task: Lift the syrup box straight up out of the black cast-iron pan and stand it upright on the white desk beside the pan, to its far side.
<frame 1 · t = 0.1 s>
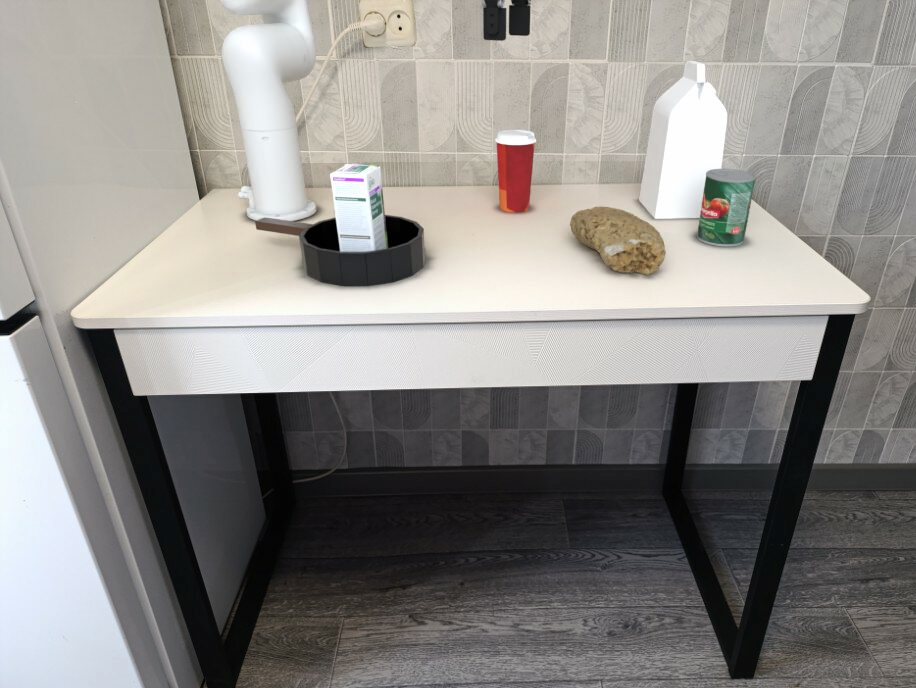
hand: (507, 37, 100), 31 cm above the table, tool pointing down, fingers open, 9 cm apart
milk: (675, 209, 134), on the table
sponge: (613, 256, 112), on the table
canned tomato: (719, 240, 119), on the table
pan: (365, 263, 108), on the table
paper cup: (514, 209, 134), on the table
syrup box: (365, 263, 108), resting on pan
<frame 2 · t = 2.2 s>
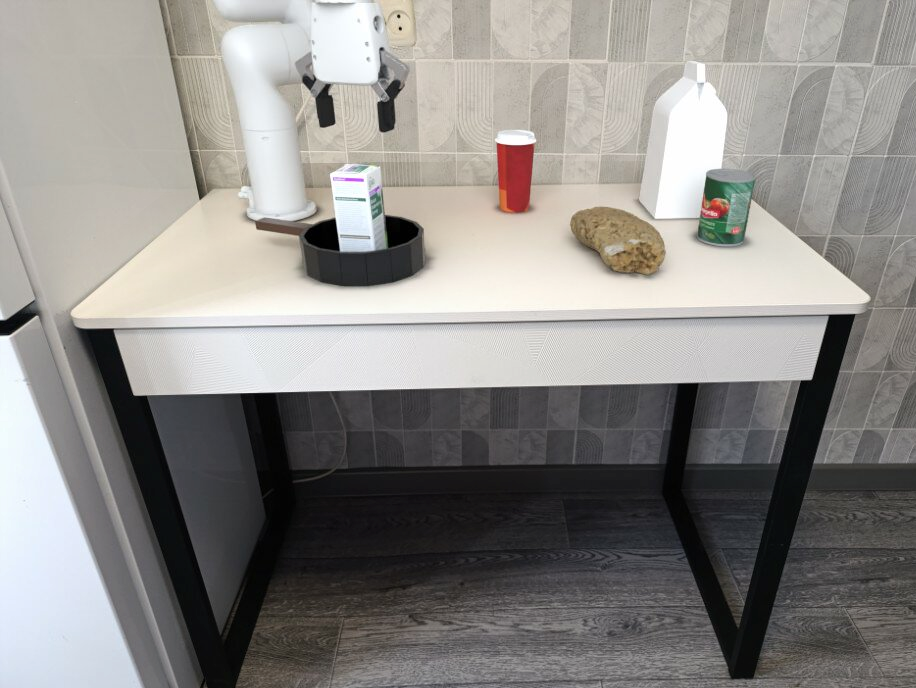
hand: (357, 128, 98), 20 cm above the table, tool pointing down, fingers open, 9 cm apart
nothing on the table moved.
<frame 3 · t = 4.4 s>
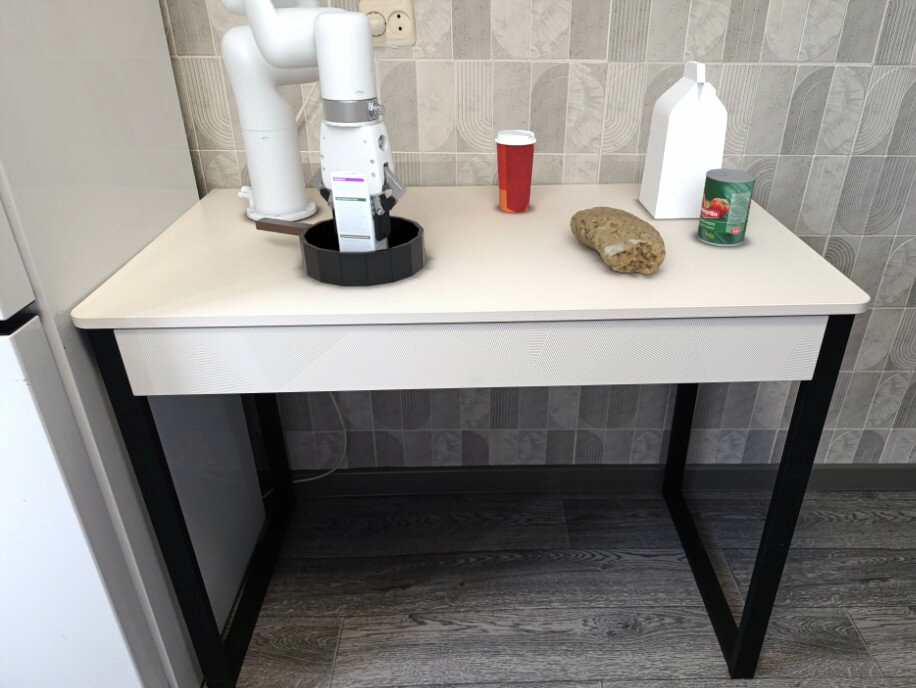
hand: (362, 234, 106), 5 cm above the table, tool pointing down, fingers closed on syrup box, 6 cm apart
syrup box: (365, 263, 108), resting on pan, touching gripper
everything else where it was.
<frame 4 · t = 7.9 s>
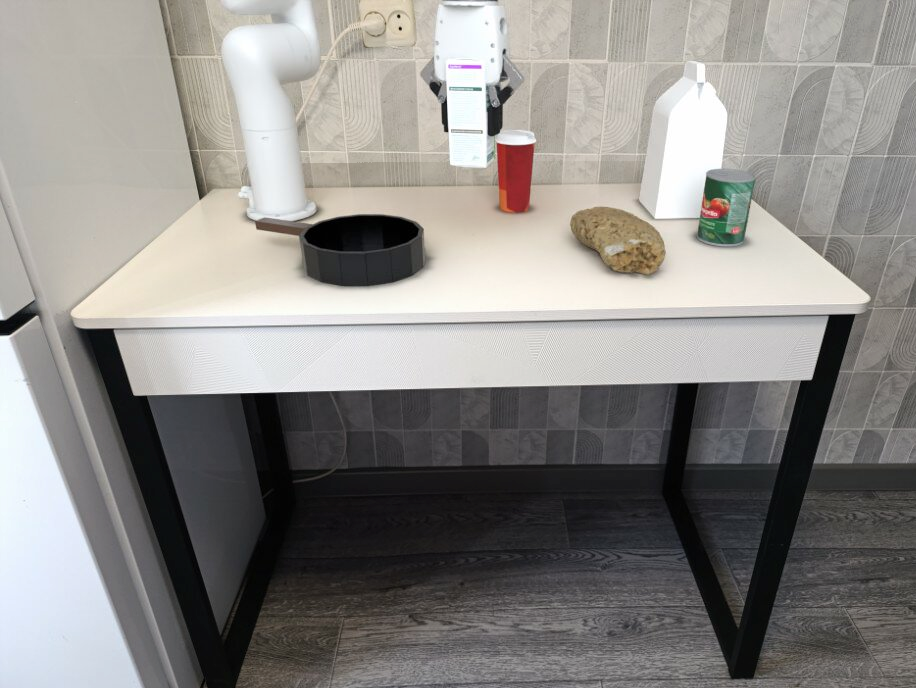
hand: (472, 131, 101), 19 cm above the table, tool pointing down, fingers closed on syrup box, 6 cm apart
syrup box: (472, 164, 104), point 14 cm above the table, touching gripper
everything else where it was.
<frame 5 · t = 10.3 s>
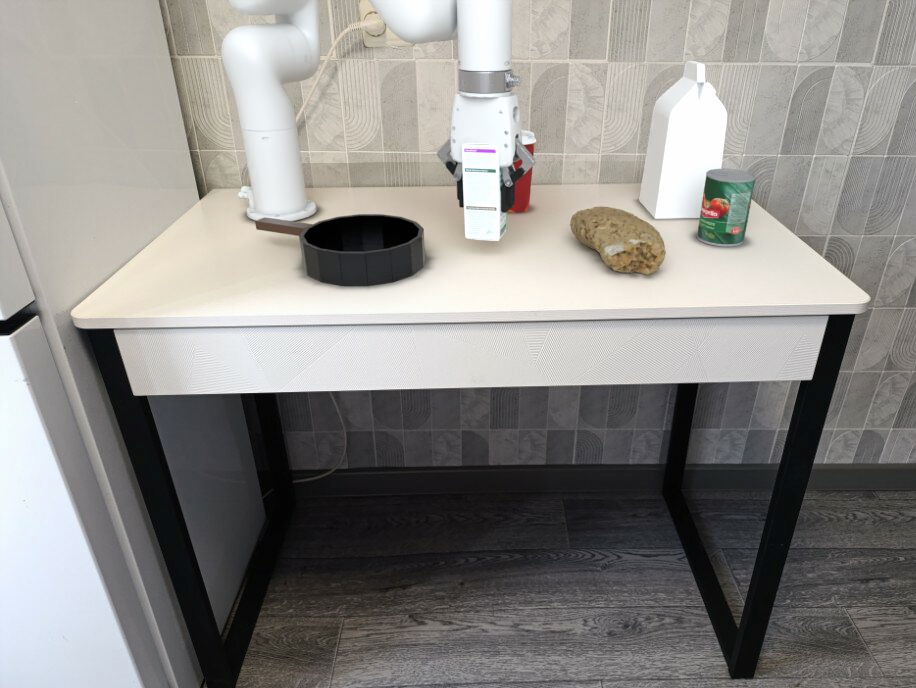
hand: (485, 206, 107), 8 cm above the table, tool pointing down, fingers closed on syrup box, 6 cm apart
syrup box: (485, 235, 110), point 3 cm above the table, touching gripper
everything else where it was.
when the fingers open (4 cm above the table, at t = 11.7 s): syrup box stays where it is, on the table.
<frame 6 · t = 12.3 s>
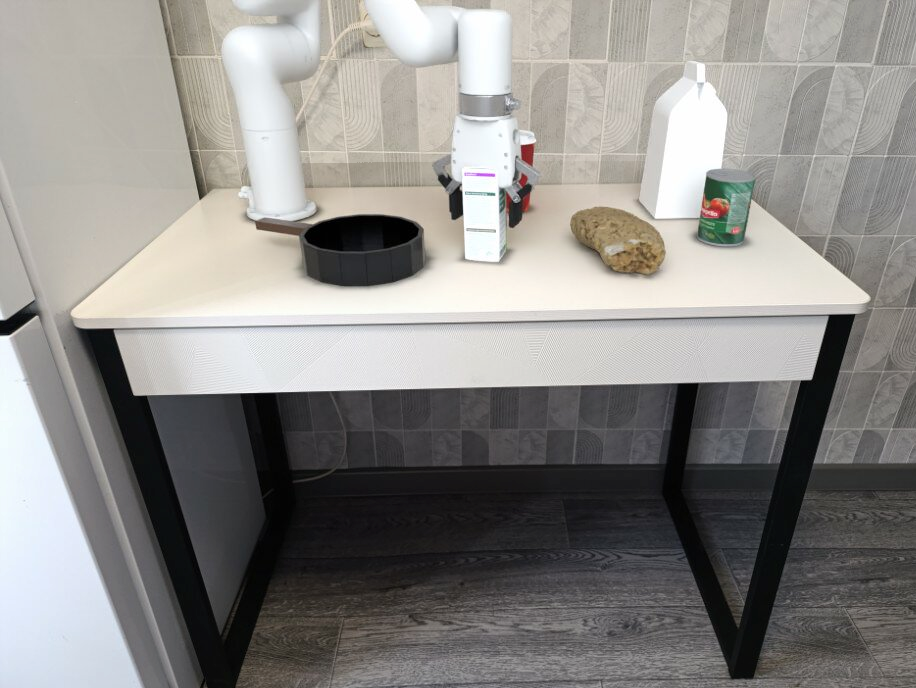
hand: (485, 221, 109), 6 cm above the table, tool pointing down, fingers open, 9 cm apart
syrup box: (485, 256, 112), on the table
everything else where it was.
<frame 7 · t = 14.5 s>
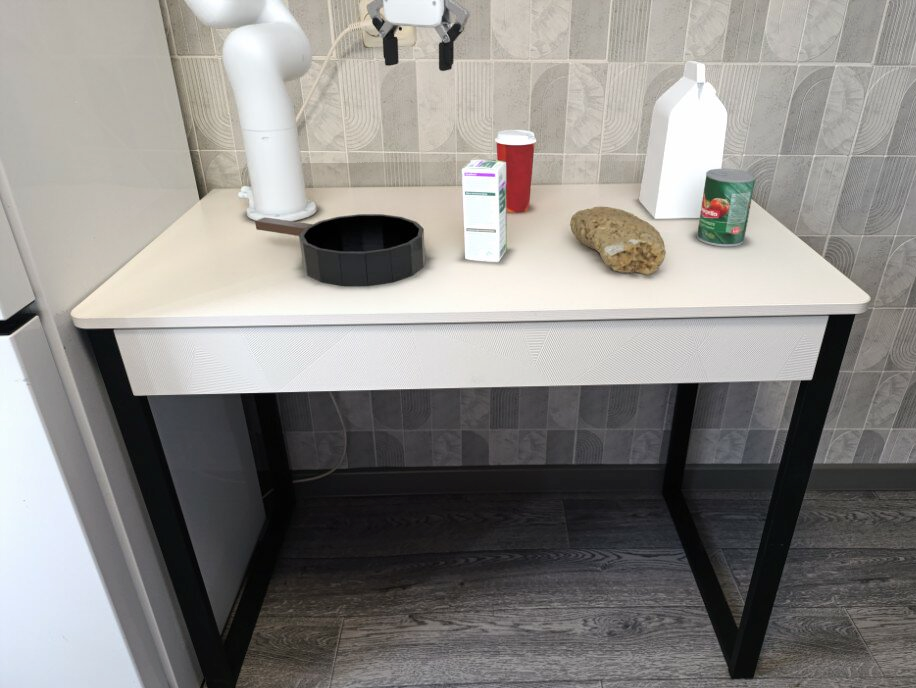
hand: (418, 67, 110), 26 cm above the table, tool pointing down, fingers open, 9 cm apart
nothing on the table moved.
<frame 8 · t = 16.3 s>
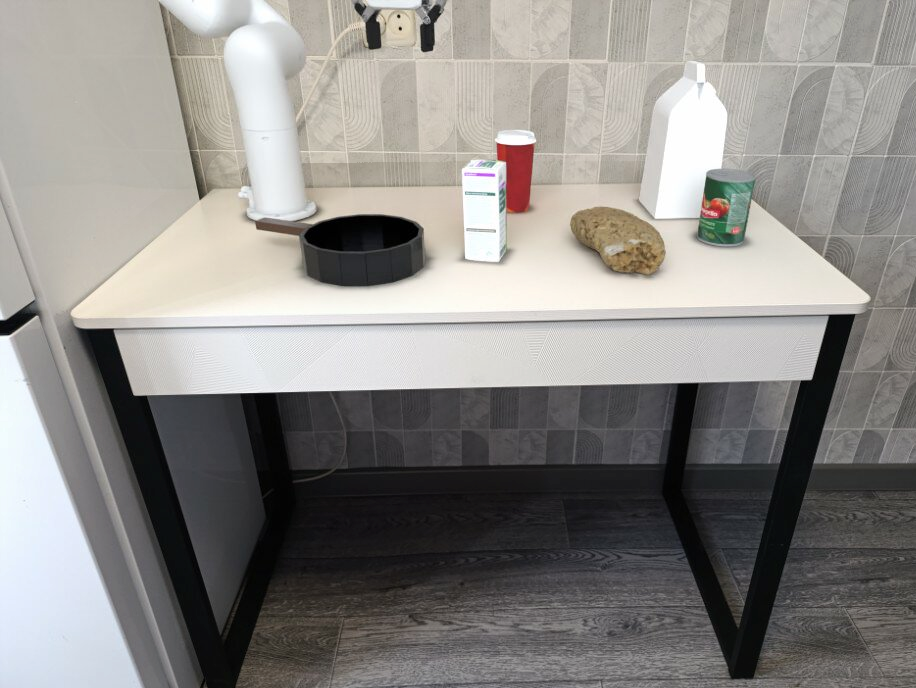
hand: (400, 50, 113), 28 cm above the table, tool pointing down, fingers open, 9 cm apart
nothing on the table moved.
at the end: syrup box inside the target area (0.1 cm from its centre), on the table; syrup box tilted 0°; syrup box touching table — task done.
